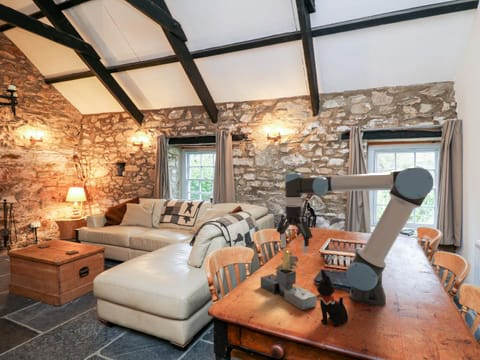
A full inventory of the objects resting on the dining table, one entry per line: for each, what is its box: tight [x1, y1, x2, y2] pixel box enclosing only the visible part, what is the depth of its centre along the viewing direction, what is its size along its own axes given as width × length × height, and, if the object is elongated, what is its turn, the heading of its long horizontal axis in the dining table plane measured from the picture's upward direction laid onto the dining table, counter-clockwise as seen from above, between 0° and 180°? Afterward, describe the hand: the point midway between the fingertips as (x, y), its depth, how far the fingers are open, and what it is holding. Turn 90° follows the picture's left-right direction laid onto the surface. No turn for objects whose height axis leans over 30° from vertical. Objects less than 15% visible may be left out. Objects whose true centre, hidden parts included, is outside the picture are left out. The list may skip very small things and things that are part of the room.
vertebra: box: [277, 252, 299, 271], centre depth 171 cm, size 20×11×10 cm, turn 140°
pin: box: [282, 249, 290, 274], centre depth 135 cm, size 3×3×14 cm
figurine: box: [316, 268, 349, 328], centre depth 111 cm, size 8×13×20 cm, turn 95°
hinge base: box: [260, 268, 297, 299], centre depth 139 cm, size 17×8×12 cm, turn 37°
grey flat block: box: [283, 285, 317, 311], centre depth 127 cm, size 12×8×5 cm, turn 31°
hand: (293, 249), depth 137 cm, fingers open, 13 cm apart
